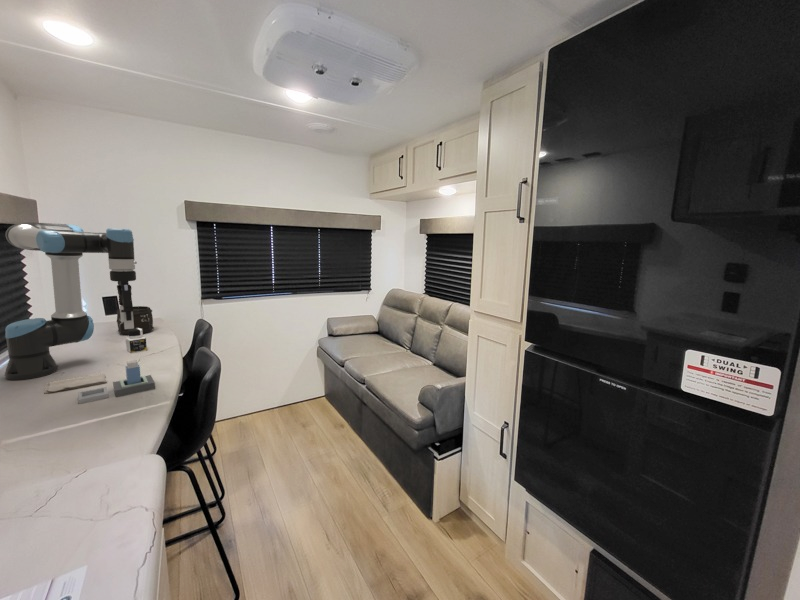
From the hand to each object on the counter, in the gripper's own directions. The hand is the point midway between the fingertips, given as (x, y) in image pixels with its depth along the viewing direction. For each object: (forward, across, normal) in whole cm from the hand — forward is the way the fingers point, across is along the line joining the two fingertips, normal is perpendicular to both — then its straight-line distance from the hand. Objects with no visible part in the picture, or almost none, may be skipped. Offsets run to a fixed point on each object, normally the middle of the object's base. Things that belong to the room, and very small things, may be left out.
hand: (127, 325), depth 127 cm
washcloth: (+28, +17, +16) cm, 36 cm away
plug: (+27, -2, 0) cm, 27 cm away
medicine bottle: (+27, +58, -8) cm, 64 cm away
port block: (+27, -2, 0) cm, 27 cm away
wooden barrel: (+28, +100, -12) cm, 105 cm away
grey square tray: (+27, -2, +12) cm, 29 cm away
